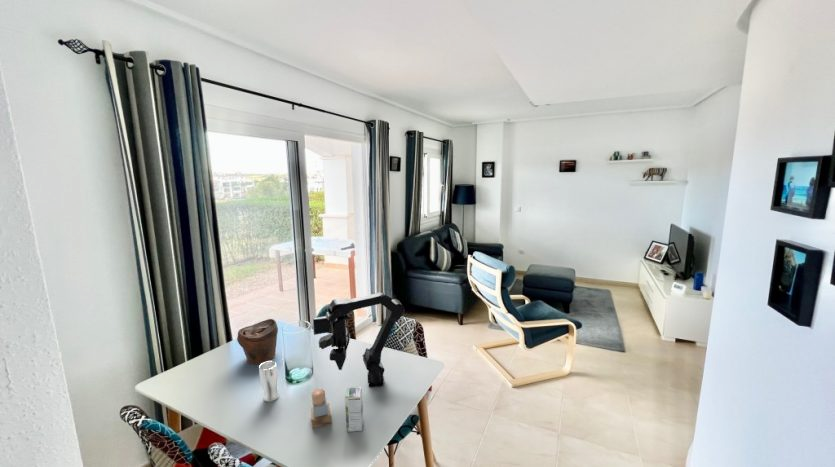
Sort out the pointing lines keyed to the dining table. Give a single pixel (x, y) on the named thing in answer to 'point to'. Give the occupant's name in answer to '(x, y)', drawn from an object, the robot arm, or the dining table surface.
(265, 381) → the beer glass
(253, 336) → the brown plant pot
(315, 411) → the slate block
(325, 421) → the walnut base block
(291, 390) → the dining table surface
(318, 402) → the tan rounded tapered piece
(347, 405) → the syrup box
